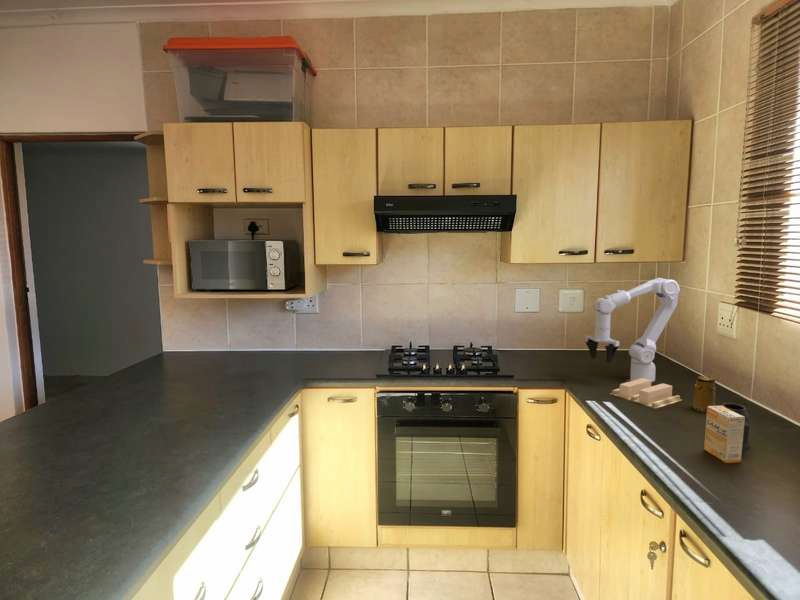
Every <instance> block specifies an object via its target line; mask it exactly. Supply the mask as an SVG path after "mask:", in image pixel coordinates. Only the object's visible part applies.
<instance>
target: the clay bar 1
mask: <svg viewBox="0 0 800 600" xmlns="http://www.w3.org/2000/svg"><path fill="white" fill-rule="evenodd" d="M648 387H652V382H651V380H648V379H644V378H641V379H637V380H634V381H630V380H629V381H625V382H623V383H620V384H619V388H620V394H619V396H621V397H625V398H628V399H629V398H631V396H634V395H638V394H639V390H641V389H644V388H648ZM621 397H620V398H621ZM628 399H627V400H628Z"/></svg>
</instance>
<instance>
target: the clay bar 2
mask: <svg viewBox="0 0 800 600" xmlns="http://www.w3.org/2000/svg"><path fill="white" fill-rule="evenodd" d="M669 397H673V385H670V384H667V383H659V384H656V385H651V387H648V388H644V389H641V390H639V402H641V403H644V404H647V405H649V404H652V403H653V402H656V401H659V400H663V399H666V398H669Z"/></svg>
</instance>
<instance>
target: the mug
mask: <svg viewBox="0 0 800 600" xmlns="http://www.w3.org/2000/svg"><path fill="white" fill-rule="evenodd" d="M721 406H724V407H725V408H727V409H730V410H732V411H734V412H736V413H738V414H740V415H742V416H744V417H745V421H744V432H743V443H742V451H746V450H749V449H751V443H750V437H749V436H750V414H749V412H748V411H747V407H745V406H744V405H742V404H738V403H734V402H723V403H722V405H721Z"/></svg>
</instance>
